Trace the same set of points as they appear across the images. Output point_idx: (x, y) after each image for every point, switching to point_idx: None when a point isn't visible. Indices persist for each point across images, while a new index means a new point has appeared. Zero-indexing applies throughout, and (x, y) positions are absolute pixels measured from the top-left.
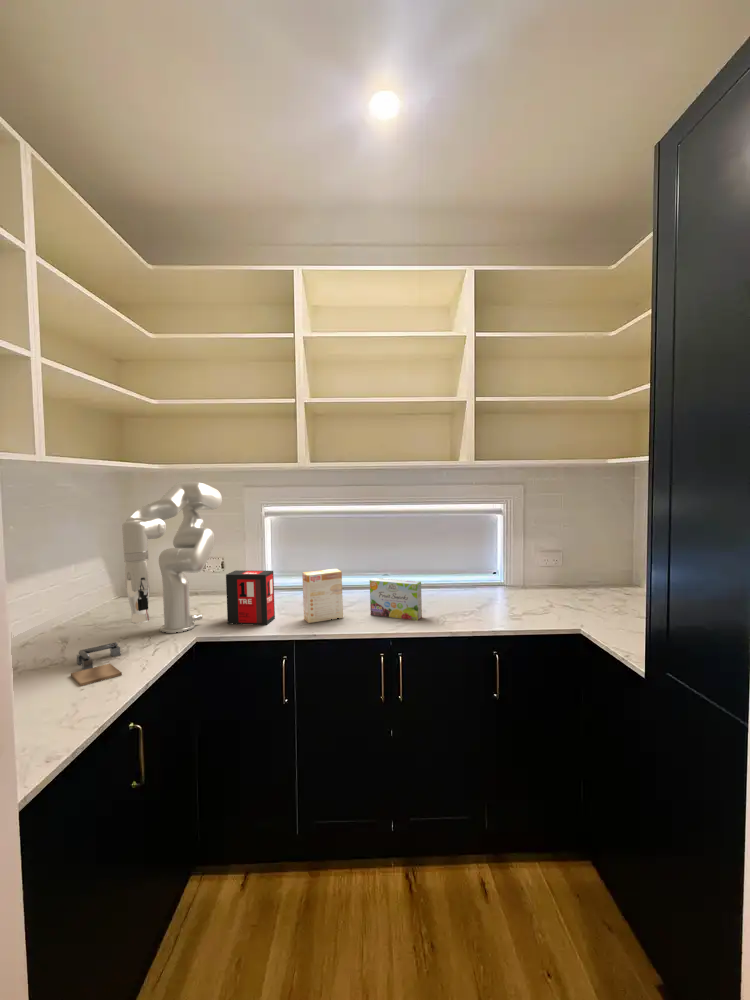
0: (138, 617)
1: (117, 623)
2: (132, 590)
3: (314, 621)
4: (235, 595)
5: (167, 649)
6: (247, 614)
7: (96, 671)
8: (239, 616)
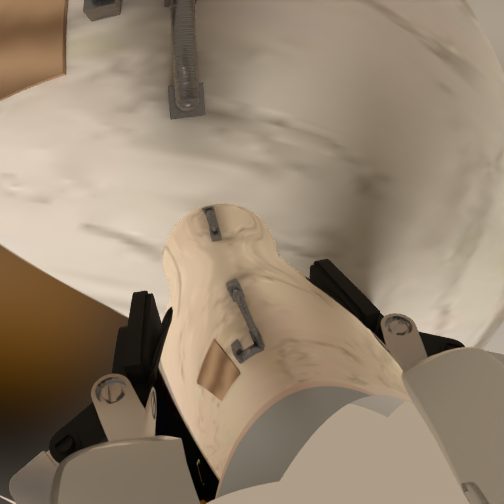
0: (171, 259)
1: (476, 209)
2: (153, 444)
3: None
4: None
5: (125, 279)
6: None
7: (19, 37)
8: None
